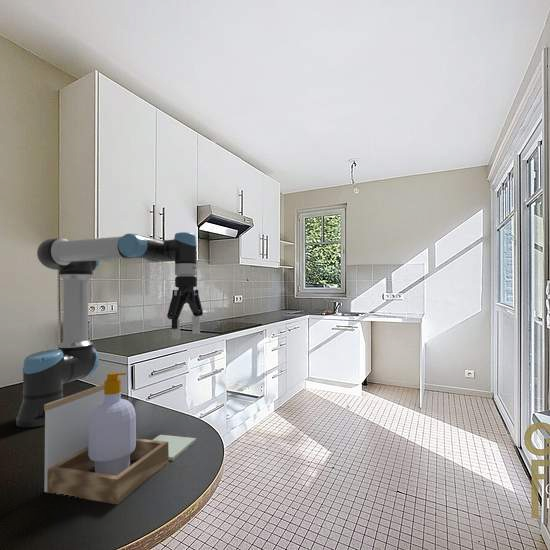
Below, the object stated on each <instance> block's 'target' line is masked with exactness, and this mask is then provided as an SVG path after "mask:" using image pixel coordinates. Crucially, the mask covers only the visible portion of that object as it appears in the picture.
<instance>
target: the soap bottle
mask: <svg viewBox="0 0 550 550" xmlns="http://www.w3.org/2000/svg"><path fill="white" fill-rule="evenodd" d="M126 374H127V372H117V371H116V372H115V371H113V372H108V373H107V374H106V375H107V376H106V378H107V379H105V380H103V381H104V383H103V384H104V401H103V402H101V403H99V404H98V405H96V406H95V407H94V409H93V410H92V412H91V414H90V417H89V421H88V456H89V458H90V460H93V461H95V466H94V473H101V474H108V475H115V476H117V475H119V474H120V473H121V472H123V471H124V470H126V469H127V468H128V467H130V466H131V459H130V454H131V453H132V452H133V451H134V450H135V447H136V438H137V434H136V433H137V429H136V428H137V427H136V426H137V418H136V417H137V416H136V409H135V407H134V405H133V403H132V402H130V401H129V400H127V399H126V398H122V379H121V378H119V376H125V375H126Z"/></svg>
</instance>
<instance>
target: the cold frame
mask: <svg viewBox="0 0 550 550" xmlns="http://www.w3.org/2000/svg"><path fill="white" fill-rule="evenodd" d="M131 460H133V461H135V462H134V463H132V464H130V467H128V468H127V469H126V470H124V471H123V472H121V473H120V474H119V475H117V476H115V475H108V474H101V473H95V471H94V472H93V471H89V470H91V469H92V468H95V461H93V460H90V458H89V456H88V447H87V448H85V449H83V450H82V451H80V452H78V453H76V454H74V455H73V456H71V457H69V458H67V459H65V460H63V461H62V462H60V463H58V464H56V465H54V466H53V467H51V468H49V469H48V492H47V493H48V494H54V493H56V494H55V495H60V494H64V495H63V496H65V495H69V496H68V497H71V496H75V497H74V498H77V497H79V498H78V499H83V498H84V500H88V501H89V500H90V501H94V502H102V503H107V504H113V505H119V504H121V502H122V501H124V500H125V499H126V498H127V497H129V496H130V495H131V494H132V493H133V492H134V491H136V490H137V489H138V488H139V487H140V486H141V485H143V484H144V483H145V482H146V481H147V480H149V479H150V478H151V477H152V476H154V475H155V474H156V473H157V472H158V471H159V470H160V469H162V468H163V467H164V466H165V465H166V464H168V463H169V461H170V460H169V450H168V442H165V441H156V440H153V439H145V438H144V439H143V438H137V437H136V447H135V450H134V451H133V452H132V453H131V454H130V461H131Z"/></svg>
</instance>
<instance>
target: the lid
mask: <svg viewBox="0 0 550 550" xmlns="http://www.w3.org/2000/svg"><path fill="white" fill-rule="evenodd" d="M103 401H104V383H102V384H100V385H97V386H93V387H91V388H87V389H85V390H82V391H79V392H75V393H73V394H71V395H67V396H65V397H64V398H62V399H59V400H56V401H53V402H50V403H47V404H44V410H45V425H44V487H43V488H44V489H43V490H44V493H48V469H49V468H51V467H53V466H54V465H56V464H58V463H60V462H62V461H63V460H65V459H67V458H69V457H71V456H73V455H74V454H76V453H78V452H80V451H82V450H83V449H85V448H87V447H88V421H89V417H90V414H91V412H92V410H93V409H94V407H95V406H96V405H98V404H99V403H101V402H103Z"/></svg>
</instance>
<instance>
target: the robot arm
mask: <svg viewBox="0 0 550 550" xmlns="http://www.w3.org/2000/svg"><path fill="white" fill-rule="evenodd" d="M197 247H198V245H197V237H196V234H195V233H191V232H186V231H182V232H181V231H180V232H177V233H175V234H174V238H173V239H163V240H162V239H157V238H153V237H150V236H149V237H148V236H145V235H141V234H137V233H125V234H124V235H122V236H111V237H101V238H100V237H98V238H87V239H86V238H84V239H73V240H72V239H71V240H69V239H67V238H63V237H61V238H48V239H45V240H43V241H42V242H41V243H40V244H39V245H38V247H37V250H36V251H37V252H36V256H37V259H38V260H39V262H40V263H41V264H42V265H43V266H44V267H46V268H48V269H50V270H57V271H58V276H59V278H61V279H62V280H63V298H62V299H63V300H62V301H63V315H62V317H63V318H62V322H63V323H62V324H63V325H62V327H63V328H62V329H63V330H62V340H63V341H62V342H61V343H60V344H59V345H58V348H56V349H48V350H41V351H37V352H34V353H32V354H31V353H30V355H28V356H26V357H25V358H24V360H23V366H22V375H23V376H22V377H23V379H22V402H21V405H20V407H19V410H18V413H17V416H16V419H15V420H16V421H15V422H16V423H15V424H16V426H17V427H19V428H39V427H43V426H44V427H45V410H44V404H47V403H50V402H53V401H56V400H59V399H62V398H65V397H64V393H63V392H64V390H63V388H64V387H63V386H64V384H68V383H70V382H74V381H77V380H82V379H85V378H87V377H88V376H91V375H93V373H94V372H95V371H97V369H98V366H99V364H100V355H99V352H97V349H96V348H94V347H93V342H92V341H90V339H89V280H90V279H91V278H92V277H93V275H94V274H93V272H94V271H95V270H96V269H97V267H98V266H99V264H100V261H106V260H107V261H109V260H122V259H125V260H126V259H127V260H128V259H129V260H130V259H144V260H146V261H148V262H155V263H157V262H164V261H165V262H166V261H167V262H169V261H174V275H175V278H174V282H175V283H174V286H175V287H176V288H178V289H173V290H172V293H171V295H172V296H171V300H170V303H169V308H168V311H167V315H166V317H167V319H168V320H171V340H179V339H180V340H181V319H180V315H181V313H182V311H183V309H184V306H185V304H187V305H188V306H189V308H190V311H191V313H192V315H193V316H191V323H192V325H191V328H192V329H191V331H192V335H200V333H201V329H200V327H201V326H200V324H201V322H200V321H201V319H200V318H201V317H202V316H203V313H204V311H203V307H202V302H201V300H200V295H199V294H200V293H199V289H194V288H196V287H197V286H198V283H197V282H198V278H197V277H196V276H197V271H198V270H197V269H198V266H197Z"/></svg>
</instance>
